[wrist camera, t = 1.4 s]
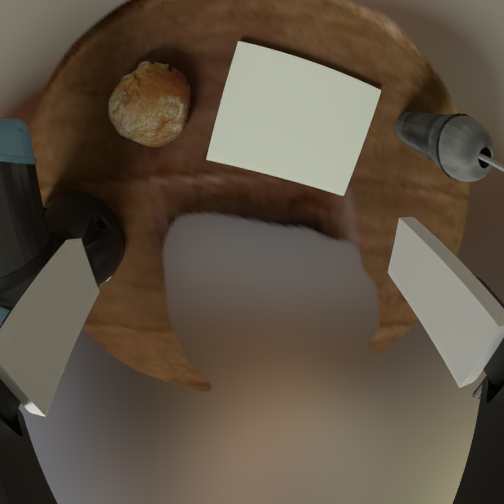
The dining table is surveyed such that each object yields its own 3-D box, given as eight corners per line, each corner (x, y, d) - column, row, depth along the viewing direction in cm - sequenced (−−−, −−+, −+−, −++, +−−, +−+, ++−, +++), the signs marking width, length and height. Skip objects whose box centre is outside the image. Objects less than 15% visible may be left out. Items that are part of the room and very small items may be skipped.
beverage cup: (426, 156, 35) (526, 216, 18) (384, 149, 35) (483, 210, 18) (432, 107, 32) (543, 142, 14) (389, 97, 31) (500, 122, 14)
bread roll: (121, 114, 35) (93, 147, 30) (133, 48, 27) (97, 71, 22) (187, 134, 37) (166, 171, 32) (209, 68, 29) (187, 95, 24)
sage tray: (207, 157, 35) (206, 159, 34) (238, 42, 28) (238, 41, 27) (341, 193, 38) (343, 196, 37) (378, 90, 31) (381, 90, 30)
